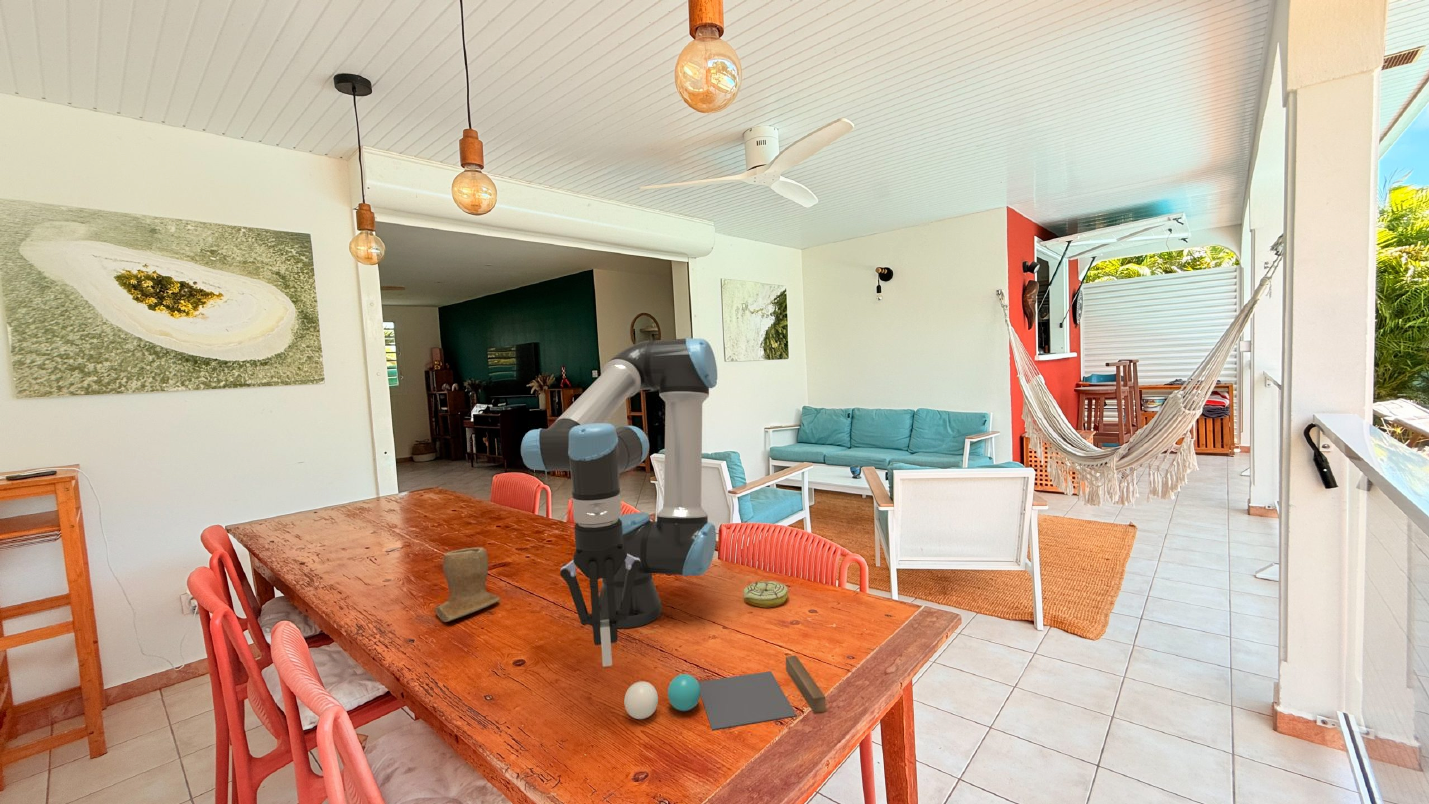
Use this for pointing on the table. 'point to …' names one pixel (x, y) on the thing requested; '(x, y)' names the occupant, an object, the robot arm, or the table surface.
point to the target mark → (744, 700)
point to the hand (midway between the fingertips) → (607, 661)
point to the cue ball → (641, 700)
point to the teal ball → (684, 692)
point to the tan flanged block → (465, 583)
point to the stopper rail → (806, 684)
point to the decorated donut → (765, 594)
